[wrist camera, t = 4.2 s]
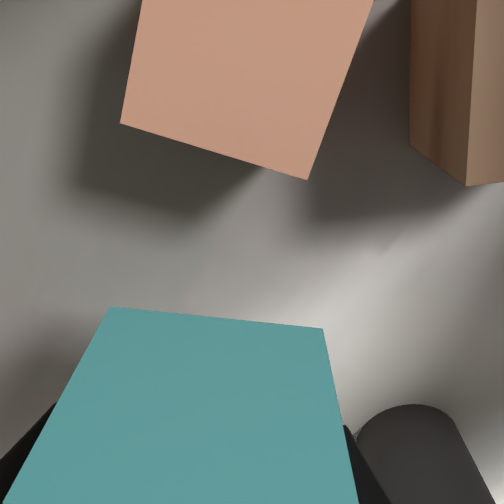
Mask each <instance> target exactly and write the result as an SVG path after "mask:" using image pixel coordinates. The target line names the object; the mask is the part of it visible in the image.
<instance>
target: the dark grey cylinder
mask: <svg viewBox="0 0 504 504" xmlns="http://www.w3.org/2000/svg"><path fill="white" fill-rule="evenodd" d="M356 443H357V445H358V447H359V448H360V450H361V452H362V454H363V455H364V457H365V459H366V461H367V462H368V464H369V466H370V467H371V469H372V471H373V473H374V474H375V476H376V478H377V479H378V481H379V483H380V484H381V486H382V488H383V489H384V491H385V492H386V494H387V496H388V497H389V499H390V500H391V502H392V503H393V504H496V503H495V501H494V499H493V498H492V496H491V494H490V492H489V490H488V488H487V486H486V484H485V482H484V480H483V478H482V476H481V474H480V472H479V470H478V468H477V466H476V464H475V462H474V460H473V459H472V457H471V455H470V453H469V451H468V449H467V447H466V445H465V443H464V441H463V439H462V437H461V435H460V433H459V431H458V429H457V427H456V425H455V423H454V422H453V421H452V419H451V418H450V417H449V416H448V415H447V414H445V413H444V412H442V411H441V410H439V409H436V408H434V407H430V406H426V405H416V404H412V405H402V406H397V407H393V408H390V409H388V410H385V411H383V412H381V413H379V414H377V415H376V416H374V417H373V418H372V419H370V420H369V421H368V422H367V423H366V424H365V425H364V427H363V428H362V429H361V431H360V433H359V435H358V438H357V442H356Z"/></svg>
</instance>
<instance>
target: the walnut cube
mask: <svg viewBox="0 0 504 504" xmlns="http://www.w3.org/2000/svg"><path fill="white" fill-rule="evenodd" d="M409 145H410V146H412V147H413V148H414V149H416V150H417V151H418V152H420V153H421V154H422V155H424V156H425V157H426V158H428V159H429V160H430V161H432V162H433V163H435V164H436V165H437V166H439V167H440V168H441V169H443V170H444V171H445V172H447V173H448V174H449V175H451V176H452V177H453V178H455V179H456V180H457V181H459V182H460V183H461V184H463V185H464V186H466V187H467V186H475V185H482V184H490V183H498V182H504V0H410V139H409Z"/></svg>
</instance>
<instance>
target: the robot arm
mask: <svg viewBox="0 0 504 504" xmlns="http://www.w3.org/2000/svg"><path fill="white" fill-rule="evenodd" d="M56 404H57V402H56V403H55V404H53V405H52V406H51V407H50V409H49V410H48V411H47V412H46V413H45V414H44V415H43V416H42V417H41V418H40V419H39V420H38V421H37V422H36V424H35V425H34V426H33V427H32V428H31V429H30V430H29V431H28V432H27V433H26V434H25V435H24V436H23V437H22V438H21V439H20V440H19V441H18V442H17V443H16V444H15V445H14V446H13V447H12V448H11V450H10V451H9V452H8V453H7V454H6V455H5V456H4V457H3V458H2V459H0V504H3V501H4V499H5V497H6V495H7V494H8V492H9V490H10V488H11V486H12V484H13V483H14V481H15V479H16V477H17V475H18V473H19V472H20V470H21V468H22V466H23V464H24V462H25V461H26V459H27V457H28V455H29V453H30V451H31V450H32V448H33V446H34V444H35V442H36V441H37V439H38V437H39V435H40V433H41V431H42V430H43V428H44V426H45V424H46V422H47V420H48V419H49V417H50V415H51V413H52V411H53V409H54V408H55V406H56ZM343 429H344V434H345V439H346V444H347V449H348V453H349V458H350V463H351V468H352V473H353V478H354V482H355V487H356V492H357V497H358V502H359V504H393V503H392V502H391V500H390V499H389V497H388V496H387V494H386V492H385V491H384V489H383V488H382V486H381V484H380V483H379V481H378V479H377V478H376V476H375V474H374V473H373V471H372V469H371V467H370V466H369V464H368V462H367V461H366V459H365V457H364V455H363V454H362V452H361V450H360V448H359V447H358V445H357V443H356V441H355V439H354V437H353V436H352V434H351V432H350V430H349V429H348V428H347V426H346V425H343Z"/></svg>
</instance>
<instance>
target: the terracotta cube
mask: <svg viewBox="0 0 504 504" xmlns="http://www.w3.org/2000/svg"><path fill="white" fill-rule="evenodd" d="M373 1H374V0H142V6H141V11H140V17H139V22H138V27H137V33H136V38H135V44H134V49H133V55H132V60H131V66H130V71H129V76H128V82H127V87H126V93H125V98H124V104H123V109H122V115H121V120H120V123H121V124H124V125H127V126H131V127H134V128H137V129H141V130H144V131H147V132H150V133H154V134H157V135H160V136H164V137H167V138H170V139H173V140H177V141H180V142H183V143H187V144H190V145H193V146H196V147H200V148H203V149H206V150H210V151H213V152H216V153H219V154H223V155H226V156H229V157H233V158H236V159H239V160H242V161H246V162H249V163H252V164H256V165H259V166H262V167H265V168H269V169H272V170H275V171H279V172H282V173H285V174H288V175H292V176H295V177H298V178H302V179H305V180H307V179H308V177H309V174H310V171H311V168H312V166H313V163H314V160H315V158H316V155H317V152H318V150H319V147H320V144H321V141H322V139H323V136H324V133H325V131H326V128H327V125H328V123H329V120H330V117H331V115H332V112H333V109H334V106H335V104H336V101H337V98H338V96H339V93H340V90H341V88H342V85H343V82H344V79H345V77H346V74H347V71H348V69H349V66H350V63H351V61H352V58H353V55H354V53H355V50H356V47H357V44H358V42H359V39H360V36H361V34H362V31H363V28H364V26H365V23H366V20H367V17H368V15H369V12H370V9H371V7H372V4H373Z"/></svg>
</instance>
